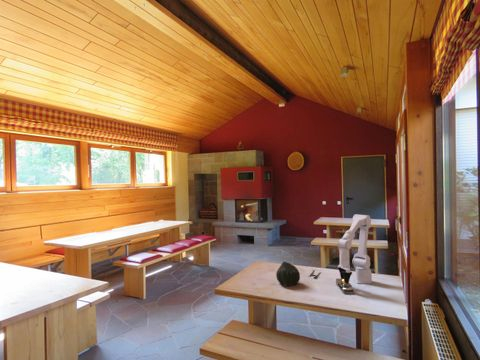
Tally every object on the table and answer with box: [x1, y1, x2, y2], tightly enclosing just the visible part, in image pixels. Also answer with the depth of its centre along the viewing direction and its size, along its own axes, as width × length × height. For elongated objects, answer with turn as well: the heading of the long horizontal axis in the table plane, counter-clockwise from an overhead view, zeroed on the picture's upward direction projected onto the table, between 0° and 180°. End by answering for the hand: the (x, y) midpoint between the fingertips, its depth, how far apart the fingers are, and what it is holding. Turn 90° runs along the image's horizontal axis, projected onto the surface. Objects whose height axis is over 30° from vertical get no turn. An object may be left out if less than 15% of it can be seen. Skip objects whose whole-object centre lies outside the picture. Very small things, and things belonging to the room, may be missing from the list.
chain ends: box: [335, 278, 355, 295], centre depth 184 cm, size 6×17×4 cm, turn 178°
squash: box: [275, 261, 301, 287], centre depth 195 cm, size 14×15×15 cm
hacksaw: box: [309, 269, 321, 280], centre depth 216 cm, size 24×10×2 cm, turn 152°
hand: (344, 280), depth 184 cm, fingers open, 7 cm apart
